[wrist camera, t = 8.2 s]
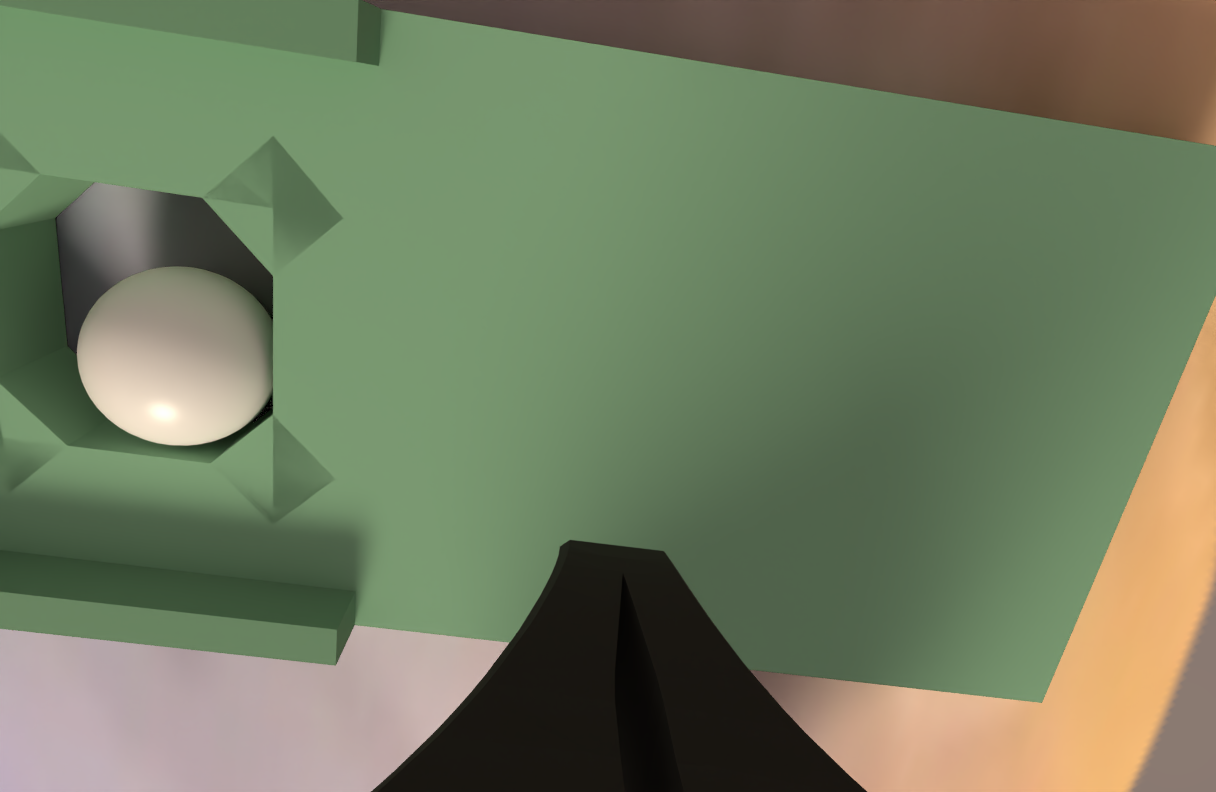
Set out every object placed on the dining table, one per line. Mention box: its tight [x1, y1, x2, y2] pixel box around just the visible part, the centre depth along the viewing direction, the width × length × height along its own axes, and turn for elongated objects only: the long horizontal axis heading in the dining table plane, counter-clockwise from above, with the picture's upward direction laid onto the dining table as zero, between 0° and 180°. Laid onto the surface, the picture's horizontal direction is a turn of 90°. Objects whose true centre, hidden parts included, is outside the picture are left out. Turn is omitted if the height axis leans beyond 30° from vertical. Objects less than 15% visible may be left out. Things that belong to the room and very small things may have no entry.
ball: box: [77, 266, 273, 446], centre depth 17 cm, size 4×4×4 cm
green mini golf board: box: [0, 0, 1216, 703], centre depth 17 cm, size 14×30×4 cm, turn 82°
